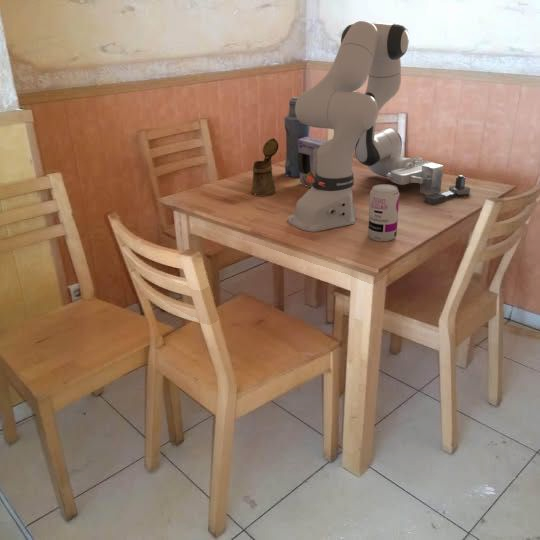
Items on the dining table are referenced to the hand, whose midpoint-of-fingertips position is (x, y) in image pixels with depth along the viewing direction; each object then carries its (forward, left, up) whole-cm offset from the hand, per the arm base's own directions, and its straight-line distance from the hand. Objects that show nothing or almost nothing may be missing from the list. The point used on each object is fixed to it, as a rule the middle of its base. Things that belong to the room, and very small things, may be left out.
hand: (432, 178), depth 195 cm
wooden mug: (-43, +40, -6) cm, 59 cm away
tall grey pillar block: (0, 0, -6) cm, 6 cm away
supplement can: (-41, -18, -6) cm, 45 cm away
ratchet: (+1, -7, -5) cm, 9 cm away
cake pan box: (-27, +30, -6) cm, 41 cm away
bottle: (-22, +50, -6) cm, 54 cm away
